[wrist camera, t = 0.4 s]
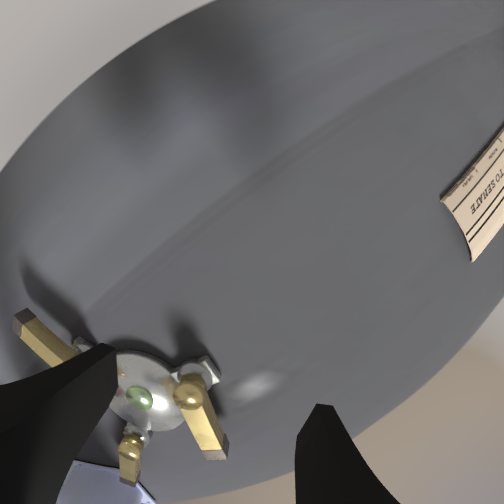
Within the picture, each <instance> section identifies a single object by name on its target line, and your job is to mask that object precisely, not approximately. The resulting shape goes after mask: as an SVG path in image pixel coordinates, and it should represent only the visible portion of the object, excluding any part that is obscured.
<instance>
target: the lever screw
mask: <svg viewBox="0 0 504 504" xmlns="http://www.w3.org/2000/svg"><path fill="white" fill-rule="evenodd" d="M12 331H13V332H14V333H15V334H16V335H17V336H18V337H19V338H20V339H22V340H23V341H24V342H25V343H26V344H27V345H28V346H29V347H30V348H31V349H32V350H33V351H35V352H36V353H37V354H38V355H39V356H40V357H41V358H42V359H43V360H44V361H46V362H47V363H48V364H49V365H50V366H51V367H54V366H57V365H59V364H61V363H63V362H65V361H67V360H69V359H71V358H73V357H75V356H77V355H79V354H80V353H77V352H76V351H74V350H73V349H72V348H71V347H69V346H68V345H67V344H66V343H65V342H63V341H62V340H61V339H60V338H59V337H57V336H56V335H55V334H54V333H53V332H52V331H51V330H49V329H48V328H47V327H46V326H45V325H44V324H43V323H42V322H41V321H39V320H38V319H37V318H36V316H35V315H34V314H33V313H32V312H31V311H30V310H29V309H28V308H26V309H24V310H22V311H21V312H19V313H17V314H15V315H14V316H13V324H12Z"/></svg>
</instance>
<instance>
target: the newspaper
mask: <svg viewBox="0 0 504 504" xmlns="http://www.w3.org/2000/svg"><path fill="white" fill-rule="evenodd" d="M440 202H444V203H445V205H446V206H447V207H448V208H449V210H450V211H451V212H452V214H453V215H454V217H455V219H456V220H457V222H458V224H459V225H460V227H461V229H462V231H463V232H464V234H465V237H466V240H467V242H468V245H469V247H470V250H471V256H470V257H472V259H471V260H470V262H472V263H473V262H474V260H475V259H476V258H477V257H478V256H479V254H480V253H481V252H482V251H483V250H484V248H485V247H486V246H487V245H488V243H489V242H490V241H491V239H492V238H493V237H494V236H495V234H496V233H497V232H498V230H499V229H500V228H501V226H502V225H503V223H504V127H503V128H502V130H501V131H500V132H499V134H498V135H497V136H496V137H495V139H494V140H493V141H492V142H491V144H490V145H489V146H488V147H487V149H486V150H485V151H484V152H483V153H482V155H481V156H480V157H479V158H478V159H477V161H476V162H475V163H474V164H473V165H472V166H471V167H470V169H469V170H468V171H467V172H466V173H465V174H464V175H463V177H462V178H461V179H460V180H459V181H458V182H457V183H456V184H455V185H454V186H453V188H452V189H451V190H450V191H449V192H448V193H447V194H446V195H445V196H444V197H443V198H442V199H441V200H440Z"/></svg>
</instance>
